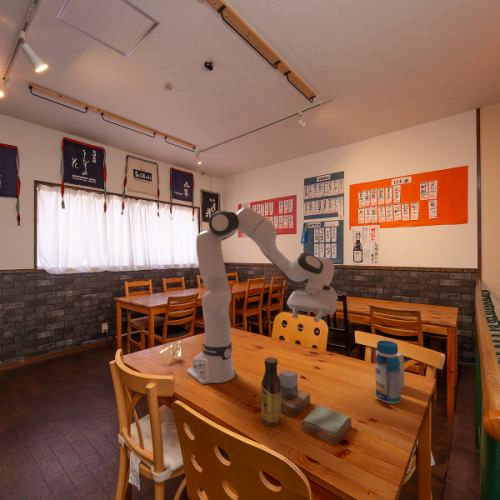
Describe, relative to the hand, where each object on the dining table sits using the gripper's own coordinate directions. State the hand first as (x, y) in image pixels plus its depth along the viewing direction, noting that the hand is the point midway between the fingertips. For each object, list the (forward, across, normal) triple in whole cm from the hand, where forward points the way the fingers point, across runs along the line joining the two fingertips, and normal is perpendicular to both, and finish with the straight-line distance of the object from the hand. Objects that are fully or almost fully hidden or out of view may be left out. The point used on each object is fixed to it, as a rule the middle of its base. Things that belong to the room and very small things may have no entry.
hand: (304, 319), depth 107 cm
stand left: (+28, 0, +10) cm, 30 cm away
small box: (+2, +24, +37) cm, 44 cm away
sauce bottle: (+37, +1, +2) cm, 37 cm away
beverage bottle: (+10, +26, +29) cm, 40 cm away
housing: (+26, 0, +8) cm, 27 cm away
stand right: (+31, +16, +8) cm, 36 cm away
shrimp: (+30, -66, +9) cm, 73 cm away
